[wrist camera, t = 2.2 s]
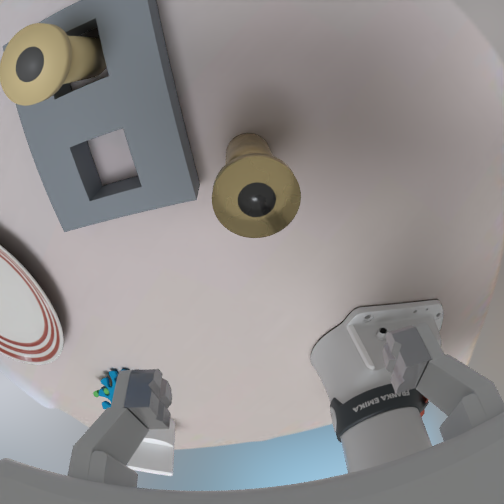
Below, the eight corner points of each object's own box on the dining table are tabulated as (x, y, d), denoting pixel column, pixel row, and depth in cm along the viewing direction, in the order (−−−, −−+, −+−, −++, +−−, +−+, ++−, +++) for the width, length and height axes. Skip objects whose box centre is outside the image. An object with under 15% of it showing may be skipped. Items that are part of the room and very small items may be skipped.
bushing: (273, 119, 26) (295, 150, 18) (282, 176, 29) (304, 230, 21) (211, 131, 26) (202, 167, 18) (224, 187, 30) (222, 245, 21)
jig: (23, 44, 18) (-45, 53, 10) (152, -16, 18) (114, -48, 10) (77, 215, 30) (35, 272, 22) (199, 184, 29) (188, 241, 21)
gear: (151, 376, 44) (151, 432, 42) (163, 369, 50) (162, 421, 48) (91, 363, 45) (92, 417, 43) (107, 359, 50) (107, 409, 49)
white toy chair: (177, 416, 56) (174, 469, 46) (173, 431, 60) (170, 479, 51) (134, 408, 54) (126, 461, 44) (134, 424, 58) (128, 471, 49)
